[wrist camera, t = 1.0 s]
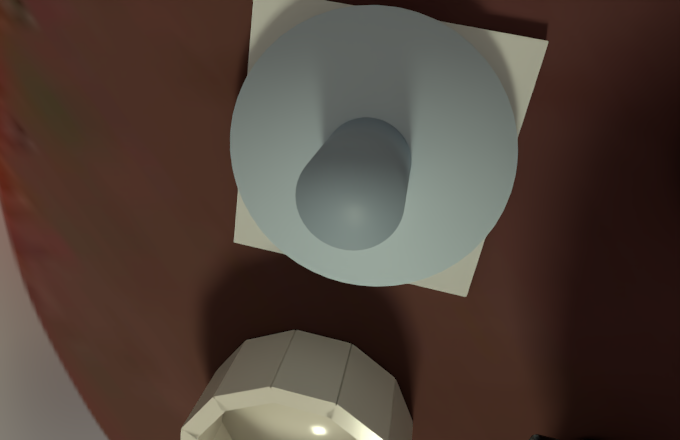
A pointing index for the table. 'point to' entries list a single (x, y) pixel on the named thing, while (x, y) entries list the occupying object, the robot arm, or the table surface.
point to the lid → (374, 145)
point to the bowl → (299, 394)
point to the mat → (496, 47)
